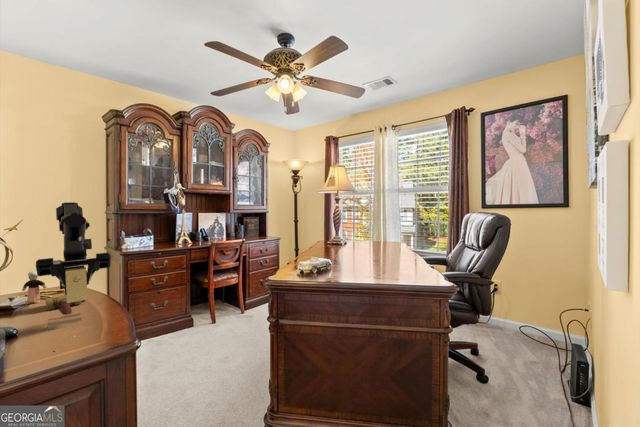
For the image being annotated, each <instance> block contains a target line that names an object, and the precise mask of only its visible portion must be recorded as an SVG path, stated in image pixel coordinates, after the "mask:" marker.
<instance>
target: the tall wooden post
mask: <svg viewBox="0 0 640 427" xmlns="http://www.w3.org/2000/svg"><path fill="white" fill-rule="evenodd" d="M86 270H87V267H86V266H84V267H83V268H75V269H67V270H66V271H65V272H66V293H67V303H71V302H76V301H82V300H85V301H87V300H88V285H87V279H86Z"/></svg>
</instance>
